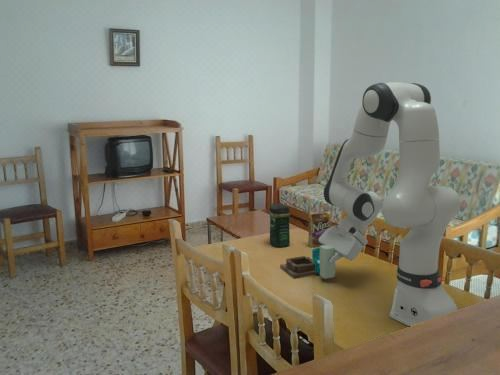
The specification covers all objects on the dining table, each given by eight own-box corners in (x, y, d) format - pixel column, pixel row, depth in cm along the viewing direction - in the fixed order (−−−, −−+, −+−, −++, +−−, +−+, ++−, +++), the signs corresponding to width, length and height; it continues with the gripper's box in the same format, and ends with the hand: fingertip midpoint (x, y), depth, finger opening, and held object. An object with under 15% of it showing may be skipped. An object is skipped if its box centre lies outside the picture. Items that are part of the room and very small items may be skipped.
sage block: (334, 276, 172) (335, 247, 169) (325, 278, 170) (325, 249, 168) (329, 273, 175) (329, 244, 173) (319, 274, 174) (319, 246, 172)
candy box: (310, 247, 209) (310, 214, 206) (308, 244, 213) (308, 211, 210) (330, 246, 210) (330, 212, 207) (327, 243, 214) (327, 210, 211)
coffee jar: (292, 246, 211) (292, 205, 207) (276, 248, 208) (275, 207, 205) (283, 240, 220) (283, 200, 216) (267, 242, 217) (266, 202, 213)
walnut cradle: (322, 273, 179) (323, 264, 179) (294, 278, 175) (294, 269, 174) (307, 263, 190) (307, 254, 190) (280, 267, 186) (280, 258, 185)
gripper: (329, 219, 181) (306, 247, 180) (360, 232, 162) (335, 264, 161) (339, 228, 184) (316, 256, 182) (371, 243, 165) (346, 274, 163)
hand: (325, 260), depth 171 cm, fingers closed on sage block, 4 cm apart
